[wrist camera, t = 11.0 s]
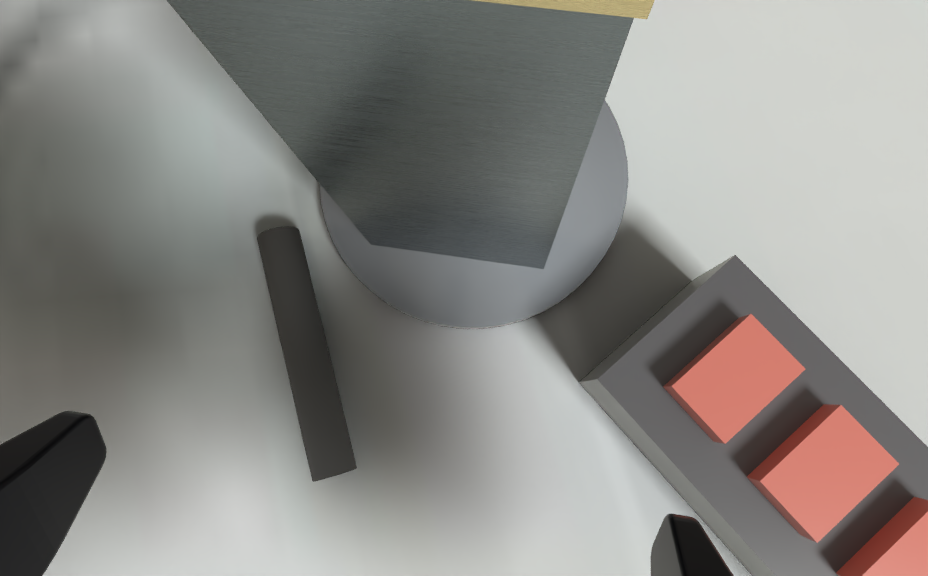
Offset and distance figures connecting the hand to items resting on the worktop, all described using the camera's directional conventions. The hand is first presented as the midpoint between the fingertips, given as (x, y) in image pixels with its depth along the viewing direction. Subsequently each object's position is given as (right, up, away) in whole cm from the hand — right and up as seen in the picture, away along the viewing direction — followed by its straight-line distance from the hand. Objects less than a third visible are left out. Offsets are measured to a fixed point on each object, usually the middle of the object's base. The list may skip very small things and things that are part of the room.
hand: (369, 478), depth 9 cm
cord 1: (-3, +1, +8) cm, 9 cm away
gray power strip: (+9, -2, +7) cm, 12 cm away
